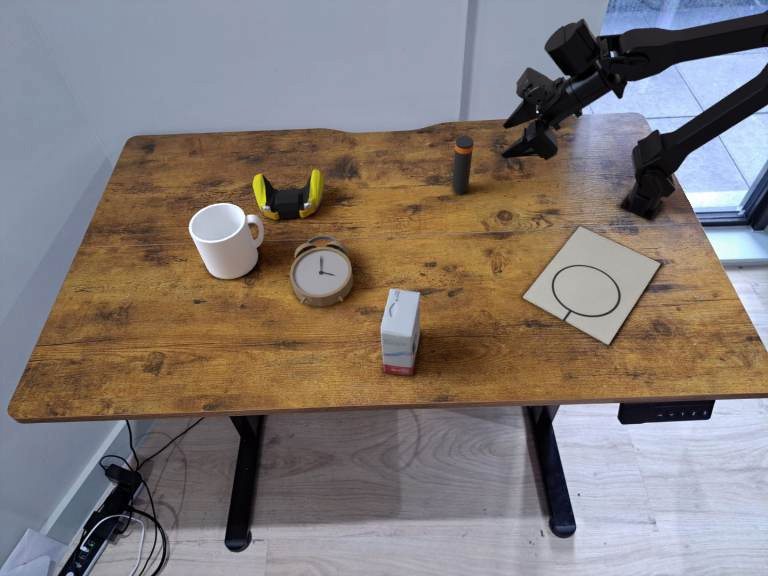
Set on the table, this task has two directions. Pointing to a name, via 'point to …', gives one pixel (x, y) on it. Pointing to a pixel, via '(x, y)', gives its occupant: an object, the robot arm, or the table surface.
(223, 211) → the mug
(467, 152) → the marker
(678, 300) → the table surface
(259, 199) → the gaming controller
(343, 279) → the alarm clock
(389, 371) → the ink box
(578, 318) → the paper sheet
